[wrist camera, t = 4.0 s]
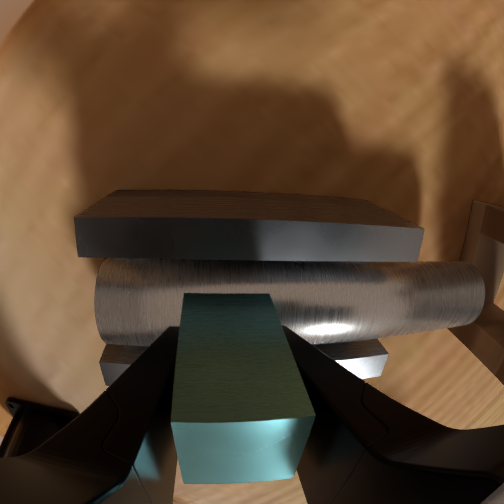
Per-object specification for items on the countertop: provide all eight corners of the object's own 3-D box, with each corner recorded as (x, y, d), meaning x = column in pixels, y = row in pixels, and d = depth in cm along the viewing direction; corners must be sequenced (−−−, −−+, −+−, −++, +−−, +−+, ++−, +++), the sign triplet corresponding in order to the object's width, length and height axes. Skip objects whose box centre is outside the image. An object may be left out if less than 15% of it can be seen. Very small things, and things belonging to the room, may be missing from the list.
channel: (127, 322, 14) (106, 385, 10) (116, 190, 12) (74, 217, 8) (343, 320, 16) (380, 375, 12) (366, 200, 14) (424, 228, 9)
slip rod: (123, 314, 12) (70, 473, 5) (115, 244, 11) (18, 389, 4) (436, 306, 14) (529, 395, 7) (452, 252, 13) (565, 329, 6)
